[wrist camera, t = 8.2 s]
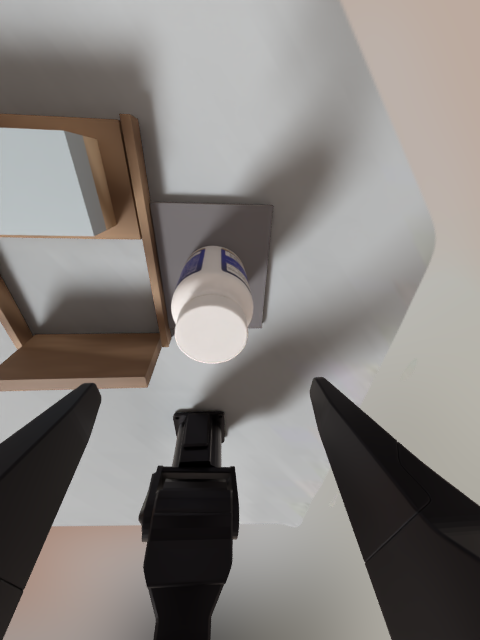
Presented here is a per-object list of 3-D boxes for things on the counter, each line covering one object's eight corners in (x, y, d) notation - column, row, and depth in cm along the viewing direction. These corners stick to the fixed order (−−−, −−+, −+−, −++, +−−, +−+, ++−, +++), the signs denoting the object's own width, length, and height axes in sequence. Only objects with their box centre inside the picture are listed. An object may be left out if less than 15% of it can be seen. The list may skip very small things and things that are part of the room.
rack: (172, 342, 24) (158, 387, 19) (31, 344, 23) (-22, 391, 18) (137, 119, 15) (94, 91, 10) (-101, 107, 14) (-286, 69, 9)
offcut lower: (116, 225, 17) (106, 230, 16) (-16, 222, 17) (-39, 227, 15) (96, 139, 15) (82, 135, 13) (-61, 132, 14) (-96, 127, 12)
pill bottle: (188, 304, 21) (170, 375, 14) (178, 246, 19) (149, 296, 11) (246, 300, 22) (259, 369, 14) (244, 242, 19) (260, 289, 11)
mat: (260, 324, 24) (261, 328, 23) (170, 325, 23) (169, 328, 23) (271, 205, 18) (273, 206, 18) (151, 201, 17) (149, 202, 17)
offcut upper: (106, 230, 16) (94, 236, 14) (-39, 227, 15) (-69, 233, 14) (82, 135, 13) (63, 130, 12) (-96, 127, 12) (-141, 120, 11)
